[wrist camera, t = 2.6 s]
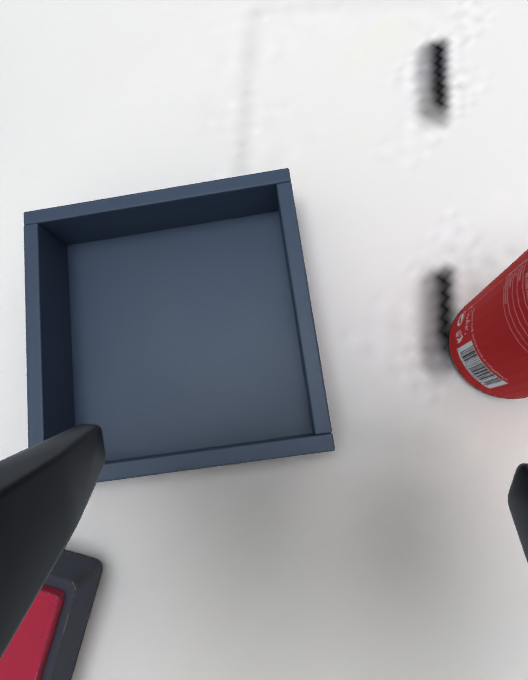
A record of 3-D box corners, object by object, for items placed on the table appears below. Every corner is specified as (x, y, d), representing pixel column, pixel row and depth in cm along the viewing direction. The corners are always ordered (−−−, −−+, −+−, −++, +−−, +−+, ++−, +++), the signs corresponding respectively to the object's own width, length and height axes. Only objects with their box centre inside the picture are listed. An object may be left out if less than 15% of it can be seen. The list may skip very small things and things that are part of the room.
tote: (329, 445, 22) (335, 450, 19) (68, 480, 23) (28, 491, 20) (289, 201, 25) (288, 167, 22) (58, 239, 26) (22, 211, 23)
